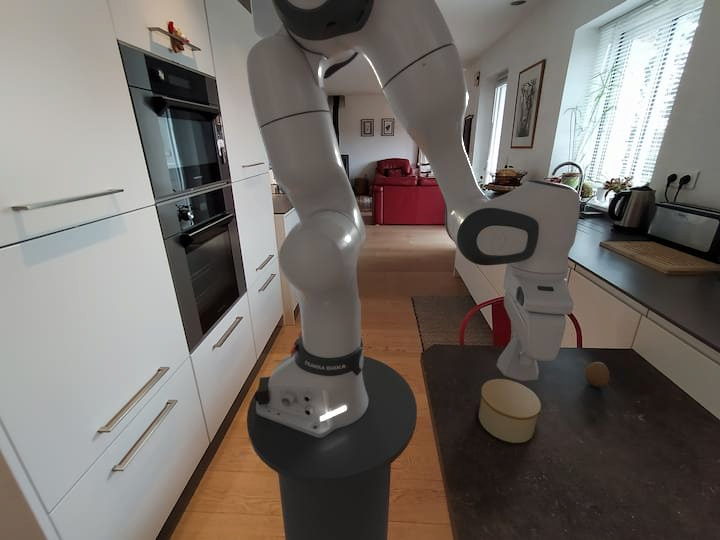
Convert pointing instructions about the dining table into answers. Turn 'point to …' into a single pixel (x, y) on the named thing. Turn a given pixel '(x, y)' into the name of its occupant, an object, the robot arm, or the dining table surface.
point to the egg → (597, 374)
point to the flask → (516, 362)
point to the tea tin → (508, 410)
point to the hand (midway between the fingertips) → (520, 352)
